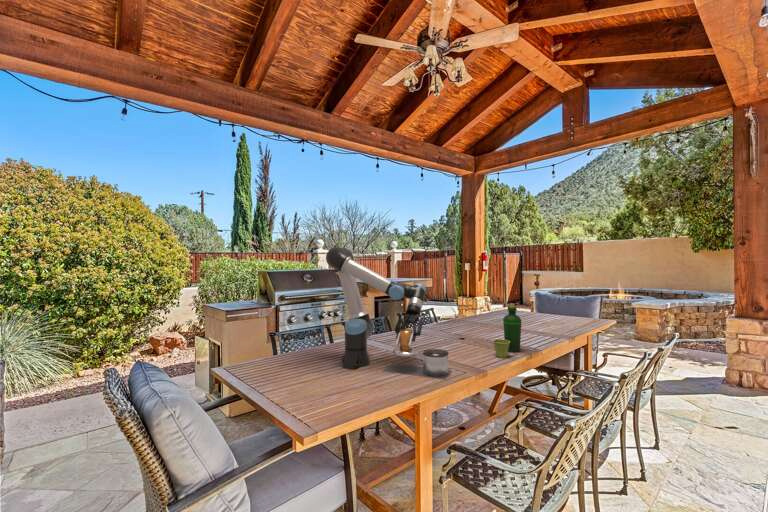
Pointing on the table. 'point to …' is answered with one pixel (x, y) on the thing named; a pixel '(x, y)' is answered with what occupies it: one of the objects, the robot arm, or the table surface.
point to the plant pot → (501, 347)
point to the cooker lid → (405, 345)
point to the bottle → (512, 329)
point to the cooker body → (435, 363)
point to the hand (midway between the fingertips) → (403, 345)
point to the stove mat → (410, 370)
